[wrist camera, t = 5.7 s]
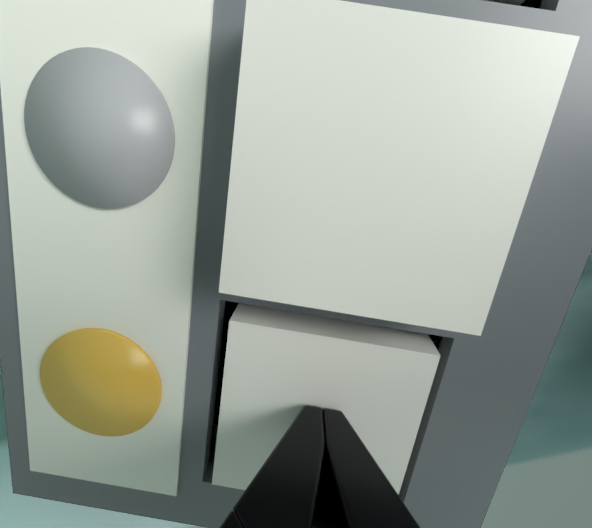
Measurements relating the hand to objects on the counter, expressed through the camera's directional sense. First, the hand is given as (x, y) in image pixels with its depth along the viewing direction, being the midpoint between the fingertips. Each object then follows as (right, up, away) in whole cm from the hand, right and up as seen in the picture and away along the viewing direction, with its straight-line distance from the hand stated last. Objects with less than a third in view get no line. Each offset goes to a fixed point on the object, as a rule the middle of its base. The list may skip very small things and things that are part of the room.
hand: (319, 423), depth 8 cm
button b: (+1, +6, 0) cm, 6 cm away
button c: (0, +1, +2) cm, 3 cm away
